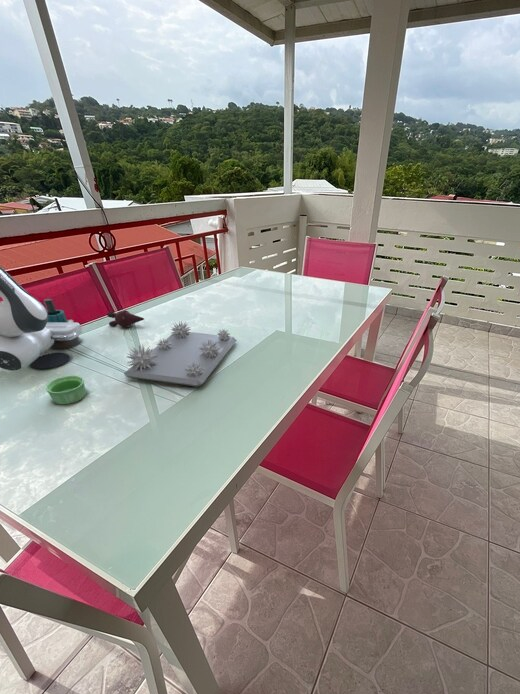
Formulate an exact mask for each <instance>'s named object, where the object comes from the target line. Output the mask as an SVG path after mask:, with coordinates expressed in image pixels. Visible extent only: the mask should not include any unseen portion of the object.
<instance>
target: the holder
mask: <svg viewBox="0 0 520 694" xmlns="http://www.w3.org/2000/svg"><path fill="white" fill-rule="evenodd" d="M43 303H44V305H45V308H46V310H47V311H48V313H49V315H56V314H57V311H56V310H57V308H56V306H55V304H54V300H53V299H52V298H45V299H43ZM80 343H81V337H80V335H79V336H77V337H76V338H74V339H72V340H54V344H53V345H52V346H51V347H50V348H49V349H52V350H57V351H58V350H59V351H60V350H67V349H71V348H73V347H76V346H78V345H79V344H80Z"/></svg>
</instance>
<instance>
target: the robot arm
mask: <svg viewBox="0 0 520 694" xmlns="http://www.w3.org/2000/svg"><path fill="white" fill-rule="evenodd" d="M0 298H1V299H2V300H1V301H0V369H1V370H6V371H20V370H23V369H24V368H26V367H29V366H30V364H31V363H32V362H34V361H35V360H36V359H37V358H38V357H39V356H42V355H44V353H45V352H46V351H48V350H49V349H51V348H50V347H51V346H52V345H53V344H54V340H72V339H74V338H76V337H77V336H79V337H80V336H81V335H82V334H83V328H82V326H81V324H80V323H79V322H74V320H73V319H67V321H66V322H47V321H48V312H47V308H46V306H44V304H43V303H42V302H40V300H39V299H37V298H36V297H35V296H33V295H32V294H31V293H29V292H28V291H27V290H26V289H24V288H23V287H22V285H20V284H19V283H18V282H17V280H15V279H14V278H13V277H12V275H11V274H10V273H8V272H7V271H6V270H5V268H4V267H3V266H1V265H0Z"/></svg>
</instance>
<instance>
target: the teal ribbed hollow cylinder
mask: <svg viewBox="0 0 520 694" xmlns="http://www.w3.org/2000/svg"><path fill="white" fill-rule="evenodd" d="M56 311H57V314H56V315H49V313H48V321H47V322H66V321H67V320H68V319H67V317H66V314H65V311H64V310H63V309H56ZM47 312H48V311H47Z"/></svg>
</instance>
